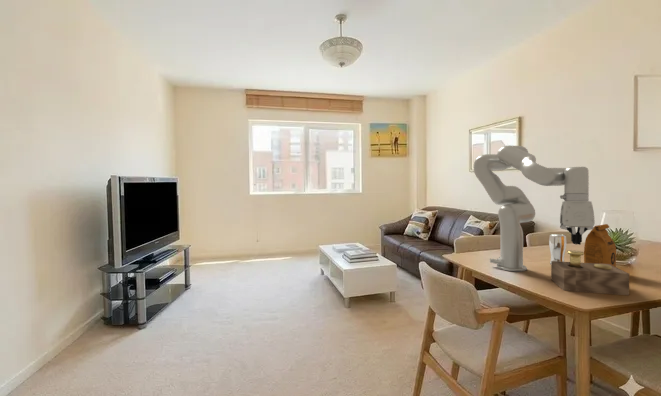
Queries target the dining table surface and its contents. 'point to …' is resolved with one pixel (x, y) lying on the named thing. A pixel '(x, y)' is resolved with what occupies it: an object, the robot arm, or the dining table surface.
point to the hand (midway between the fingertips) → (576, 243)
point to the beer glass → (557, 247)
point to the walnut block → (590, 278)
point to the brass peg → (575, 258)
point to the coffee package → (600, 247)
